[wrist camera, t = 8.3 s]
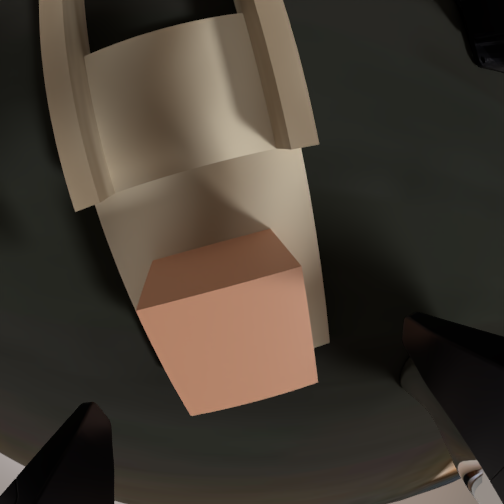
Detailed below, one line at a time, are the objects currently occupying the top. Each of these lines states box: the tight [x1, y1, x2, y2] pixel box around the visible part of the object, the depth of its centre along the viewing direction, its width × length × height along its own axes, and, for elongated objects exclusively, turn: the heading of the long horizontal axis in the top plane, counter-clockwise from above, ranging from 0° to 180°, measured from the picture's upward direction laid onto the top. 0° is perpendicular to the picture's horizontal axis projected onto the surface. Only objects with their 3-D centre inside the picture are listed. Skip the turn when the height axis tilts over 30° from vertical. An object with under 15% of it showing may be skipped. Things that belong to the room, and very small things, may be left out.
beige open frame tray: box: [39, 0, 330, 348], centre depth 9 cm, size 8×28×3 cm, turn 13°
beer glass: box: [400, 357, 503, 504], centre depth 12 cm, size 7×7×15 cm
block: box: [136, 229, 318, 416], centre depth 11 cm, size 5×5×4 cm
